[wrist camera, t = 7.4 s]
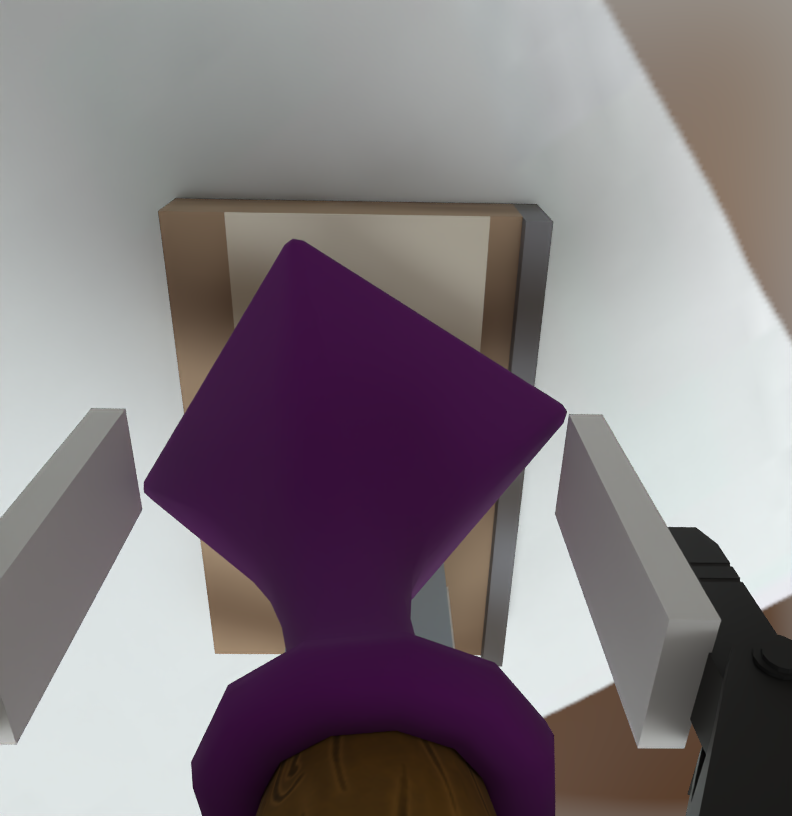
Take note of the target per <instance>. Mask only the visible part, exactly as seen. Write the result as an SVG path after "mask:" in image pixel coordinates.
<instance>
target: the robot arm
mask: <svg viewBox="0 0 792 816" xmlns="http://www.w3.org/2000/svg"><path fill="white" fill-rule="evenodd" d="M141 511H142V505H141V499H140V493H139V487H138V481H137V475H136V469H135V463H134V457H133V451H132V445H131V439H130V433H129V427H128V422H127V416H126V410H125V409H106V408H91V409H90V411H89V412H88V413H87V414H86V415H85V417H84V418H83V419H82V420H81V422H80V423H79V424H78V425H77V426H76V428H75V429H74V430H73V431H72V432H71V434H70V435H69V436H68V437H67V438H66V440H65V441H64V442H63V443H62V444H61V446H60V447H59V448H58V449H57V450H56V452H55V453H54V454H53V455H52V457H51V458H50V459H49V460H48V461H47V463H46V464H45V465H44V466H43V467H42V469H41V470H40V471H39V472H38V473H37V475H36V476H35V477H34V478H33V479H32V481H31V482H30V483H29V484H28V485H27V487H26V488H25V489H24V490H23V492H22V493H21V494H20V495H19V496H18V498H17V499H16V500H15V501H14V502H13V504H12V505H11V506H10V507H9V508H8V510H7V511H6V512H5V513H4V514H3V516H2V517H1V518H0V745H16V744H17V743H18V741H19V739H20V737H21V735H22V733H23V731H24V729H25V728H26V726H27V724H28V722H29V720H30V718H31V716H32V715H33V713H34V711H35V709H36V707H37V705H38V703H39V701H40V700H41V698H42V696H43V694H44V692H45V690H46V688H47V687H48V685H49V683H50V681H51V679H52V677H53V675H54V673H55V672H56V670H57V668H58V666H59V664H60V662H61V660H62V659H63V657H64V655H65V653H66V651H67V649H68V647H69V646H70V644H71V642H72V640H73V638H74V636H75V634H76V632H77V631H78V629H79V627H80V625H81V623H82V621H83V619H84V618H85V616H86V614H87V612H88V610H89V608H90V606H91V604H92V603H93V601H94V599H95V597H96V595H97V593H98V591H99V590H100V588H101V586H102V584H103V582H104V580H105V578H106V576H107V575H108V573H109V571H110V569H111V567H112V565H113V563H114V562H115V560H116V558H117V556H118V554H119V552H120V550H121V548H122V547H123V545H124V543H125V541H126V539H127V537H128V535H129V534H130V532H131V530H132V528H133V526H134V524H135V522H136V520H137V519H138V517H139V515H140V513H141ZM555 515H556V518H557V521H558V524H559V526H560V529H561V532H562V535H563V538H564V541H565V543H566V546H567V549H568V552H569V555H570V558H571V560H572V563H573V566H574V569H575V572H576V575H577V577H578V580H579V583H580V586H581V589H582V591H583V594H584V597H585V600H586V603H587V606H588V608H589V611H590V614H591V617H592V620H593V623H594V625H595V628H596V631H597V634H598V637H599V640H600V642H601V645H602V648H603V651H604V654H605V657H606V659H607V662H608V665H609V668H610V671H611V673H612V676H613V679H614V682H615V685H616V688H617V690H618V693H619V696H620V699H621V702H622V705H623V707H624V710H625V713H626V716H627V718H628V722H629V724H630V727H631V730H632V733H633V736H634V739H635V741H636V744H637V747H638V748H685V744H686V741H687V737H688V734H689V730H690V727H691V723H692V724H693V727H694V729H695V731H696V734H697V736H698V738H699V740H700V742H701V745H702V748H701V751H700V754H699V758H698V761H697V765H696V768H695V771H694V774H693V778H692V781H691V784H690V788H689V791H688V795H690V798H689V803H688V808H687V812H686V816H792V640H790V639H788V638H786V637H784V636H781V635H777V634H776V632H775V630H774V629H773V628H772V626H771V625H770V623H769V621H768V620H767V618H766V617H765V616H764V614H763V612H762V611H761V609H760V608H759V606H758V605H757V603H756V602H755V600H754V599H753V597H752V596H751V594H750V593H749V591H748V590H747V588H746V586H745V585H744V583H743V582H740V577H739V576H738V574H737V573H736V571H735V570H734V568H733V567H730V562H729V561H728V559H727V558H726V556H725V555H724V553H723V552H722V550H721V549H720V547H719V546H718V544H717V543H715V542H714V541H713V540H712V539H710V538H709V537H708V536H706V535H705V534H704V533H703V532H701V531H700V530H699V529H697V528H696V527H667V526H666V524H665V522H664V520H663V519H662V517H661V515H660V513H659V512H658V510H657V508H656V507H655V505H654V503H653V501H652V500H651V498H650V496H649V494H648V493H647V491H646V489H645V488H644V486H643V484H642V482H641V481H640V479H639V477H638V475H637V474H636V472H635V470H634V469H633V467H632V465H631V463H630V462H629V460H628V458H627V456H626V455H625V453H624V451H623V449H622V448H621V446H620V444H619V443H618V441H617V439H616V437H615V436H614V434H613V432H612V430H611V429H610V427H609V425H608V424H607V422H606V420H605V418H604V417H603V415H590V414H569V418H568V425H567V432H566V440H565V447H564V454H563V461H562V468H561V475H560V482H559V490H558V497H557V504H556V511H555Z"/></svg>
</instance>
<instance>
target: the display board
mask: <svg viewBox="0 0 792 816" xmlns="http://www.w3.org/2000/svg"><path fill="white" fill-rule="evenodd" d="M158 214H159V222H160V230H161V238H162V245H163V253H164V261H165V269H166V276H167V284H168V292H169V300H170V307H171V315H172V323H173V331H174V338H175V346H176V354H177V362H178V370H179V377H180V385H181V393H182V401H183V408H184V414H185V412H186V410H187V408H188V407H189V405H190V403H191V402H192V400H193V398H194V397H195V395H196V393H197V392H198V390H199V388H200V387H201V385H202V383H203V382H204V380H205V378H206V376H207V375H208V373H209V371H210V370H211V368H212V366H213V365H214V363H215V361H216V360H217V358H218V356H219V355H220V353H221V351H222V349H223V348H224V346H225V344H226V343H227V341H228V339H229V338H230V336H231V334H232V333H233V331H234V329H235V328H236V326H237V324H238V322H239V321H240V319H241V317H242V316H243V314H244V312H245V311H246V309H247V307H248V306H249V304H250V302H251V301H252V299H253V297H254V295H255V294H256V292H257V290H258V289H259V287H260V285H261V284H262V282H263V280H264V279H265V277H266V275H267V274H268V272H269V270H270V268H271V267H272V265H273V263H274V262H275V260H276V258H277V257H278V255H279V253H280V252H281V250H282V248H283V247H284V245H285V244H286V243H287V242H289V241H290V240H291V239H297V240H303V241H305V242H307V243H308V244H310V245H311V246H313V247H315V248H316V249H318V250H319V251H321V252H322V253H324V254H326V255H327V256H329V257H330V258H332V259H333V260H335V261H337V262H338V263H340V264H341V265H343V266H345V267H346V268H348V269H349V270H351V271H352V272H354V273H356V274H357V275H359V276H360V277H362V278H363V279H365V280H367V281H368V282H370V283H371V284H373V285H375V286H376V287H378V288H379V289H381V290H382V291H384V292H386V293H387V294H389V295H390V296H392V297H393V298H395V299H397V300H398V301H400V302H401V303H403V304H405V305H406V306H408V307H409V308H411V309H412V310H414V311H416V312H417V313H419V314H420V315H422V316H424V317H425V318H427V319H428V320H430V321H431V322H433V323H435V324H436V325H438V326H439V327H441V328H442V329H444V330H446V331H447V332H449V333H450V334H452V335H454V336H455V337H457V338H458V339H460V340H461V341H463V342H465V343H466V344H468V345H469V346H471V347H472V348H474V349H476V350H477V351H479V352H480V353H482V354H484V355H485V356H487V357H488V358H490V359H491V360H493V361H495V362H496V363H498V364H499V365H501V366H502V367H504V368H506V369H507V370H509V371H510V372H512V373H514V374H515V375H517V376H518V377H520V378H521V379H523V380H525V381H526V382H528V383H529V384H531V385H532V386H534V384H535V375H536V367H537V358H538V349H539V341H540V332H541V323H542V315H543V306H544V297H545V288H546V280H547V271H548V262H549V254H550V245H551V236H552V228H553V221H552V220H551V219H550V218H549V217H548V216H547V214H546V213H545V212H544V211H543V210H542V209H541V208H540V207H539V206H538V205H537V204H490V203H429V202H367V201H305V200H244V199H182V198H175V199H174V200H173V201H171V202H170V203H169V204H167V205H166V206H164V207H163V208H162V209H160V210H159V211H158ZM524 471H525V468H524V470H523V471H522V472H521V473H520V474H519V475H518V477H517V478H516V479H515V480H514V481H513V482H512V484H511V485H510V486H509V487H508V488H507V489H506V491H505V492H504V493H503V494H502V495H501V496H500V498H499V499H498V500H497V501H496V502H495V503H494V505H493V506H492V507H491V508H490V509H489V510H488V512H487V513H486V514H485V515H484V516H483V517H482V519H481V520H480V521H479V522H478V523H477V524H476V526H475V527H474V528H473V529H472V530H471V531H470V533H469V534H468V535H467V536H466V537H465V538H464V540H463V541H462V542H461V543H460V544H459V545H458V547H457V548H456V549H455V550H454V551H453V552H452V554H451V555H450V556H449V557H448V558H447V559H446V561H445V562H444V570H445V579H446V587H448V591H449V600H450V609H451V618H452V627H453V636H454V645H455V649H457V650H460V651H463V652H466V653H469V654H472V655H481V658H483V659H486V660H489V661H492V662H495V663H496V664H497V665H498V666H502V662H503V653H504V645H505V636H506V627H507V619H508V610H509V601H510V593H511V584H512V575H513V567H514V558H515V549H516V540H517V532H518V523H519V514H520V506H521V497H522V488H523V480H524ZM200 540H201V539H200ZM201 548H202V556H203V563H204V571H205V579H206V587H207V595H208V602H209V610H210V618H211V626H212V633H213V641H214V649H215V654H283V653H285V642H284V637H283V631H282V627H281V625H280V622H279V620H278V618H277V616H276V613H275V611H274V609H273V607H272V604H271V602H270V601H269V600H268V599H267V597H266V596H265V595H264V594H263V593H262V592H261V590H260V589H259V588H258V587H257V586H256V585H255V583H254V582H253V581H251V580H250V579H249V578H248V577H246V576H245V575H244V574H243V573H241V572H240V571H239V570H238V569H237V568H235V567H234V566H233V565H232V564H230V563H229V562H228V561H227V560H226V559H224V558H223V557H222V556H221V555H219V554H218V553H217V552H216V551H214V550H213V549H212V548H211V547H210V546H208V545H207V544H206V543H205V542H203V541H202V540H201Z"/></svg>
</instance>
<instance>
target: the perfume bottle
mask: <svg viewBox="0 0 792 816" xmlns="http://www.w3.org/2000/svg"><path fill="white" fill-rule="evenodd" d="M566 413H567V411H566V409H565V408H564V406H563V405H562V404H561V403H559V402H558V401H556V400H555V399H553V398H551V397H550V396H548V395H547V394H545V393H544V392H542V391H540V390H539V389H537V388H536V387H534V386H532V385H531V384H529V383H528V382H526V381H525V380H523V379H521V378H520V377H518V376H517V375H515V374H514V373H512V372H510V371H509V370H507V369H506V368H504V367H502V366H501V365H499V364H498V363H496V362H495V361H493V360H491V359H490V358H488V357H487V356H485V355H484V354H482V353H480V352H479V351H477V350H476V349H474V348H472V347H471V346H469V345H468V344H466V343H465V342H463V341H461V340H460V339H458V338H457V337H455V336H454V335H452V334H450V333H449V332H447V331H446V330H444V329H442V328H441V327H439V326H438V325H436V324H435V323H433V322H431V321H430V320H428V319H427V318H425V317H424V316H422V315H420V314H419V313H417V312H416V311H414V310H412V309H411V308H409V307H408V306H406V305H405V304H403V303H401V302H400V301H398V300H397V299H395V298H393V297H392V296H390V295H389V294H387V293H386V292H384V291H382V290H381V289H379V288H378V287H376V286H375V285H373V284H371V283H370V282H368V281H367V280H365V279H363V278H362V277H360V276H359V275H357V274H356V273H354V272H352V271H351V270H349V269H348V268H346V267H345V266H343V265H341V264H340V263H338V262H337V261H335V260H333V259H332V258H330V257H329V256H327V255H326V254H324V253H322V252H321V251H319V250H318V249H316V248H315V247H313V246H311V245H310V244H308V243H307V242H305V241H303V240H297V239H291V240H290V241H289V242H287V243H286V244H285V245H284V247H283V248H282V250H281V252H280V253H279V255H278V257H277V258H276V260H275V262H274V263H273V265H272V267H271V268H270V270H269V272H268V274H267V275H266V277H265V279H264V280H263V282H262V284H261V285H260V287H259V289H258V290H257V292H256V294H255V295H254V297H253V299H252V301H251V302H250V304H249V306H248V307H247V309H246V311H245V312H244V314H243V316H242V317H241V319H240V321H239V322H238V324H237V326H236V328H235V329H234V331H233V333H232V334H231V336H230V338H229V339H228V341H227V343H226V344H225V346H224V348H223V349H222V351H221V353H220V355H219V356H218V358H217V360H216V361H215V363H214V365H213V366H212V368H211V370H210V371H209V373H208V375H207V376H206V378H205V380H204V382H203V383H202V385H201V387H200V388H199V390H198V392H197V393H196V395H195V397H194V398H193V400H192V402H191V403H190V405H189V407H188V408H187V410H186V412H185V414H184V415H183V417H182V419H181V420H180V422H179V424H178V425H177V427H176V429H175V430H174V432H173V434H172V435H171V437H170V439H169V441H168V442H167V444H166V446H165V447H164V449H163V451H162V452H161V454H160V456H159V457H158V459H157V461H156V462H155V464H154V466H153V468H152V469H151V471H150V473H149V474H148V476H147V478H146V479H145V481H144V493H145V494H146V495H147V496H149V497H150V498H151V499H152V500H153V501H154V502H155V503H157V504H158V505H159V506H160V507H162V508H163V509H164V510H165V511H167V512H168V513H169V514H170V515H171V516H173V517H174V518H175V519H176V520H178V521H179V522H180V523H181V524H183V525H184V526H185V527H186V528H187V529H189V530H190V531H191V532H192V533H194V534H195V535H196V536H197V537H198V538H200V539H201V540H202V541H203V542H205V543H206V544H207V545H208V546H210V547H211V548H212V549H213V550H214V551H216V552H217V553H218V554H219V555H221V556H222V557H223V558H224V559H226V560H227V561H228V562H229V563H230V564H232V565H233V566H234V567H235V568H237V569H238V570H239V571H240V572H241V573H243V574H244V575H245V576H246V577H248V578H249V579H250V580H251V581H253V582H254V583H255V585H256V586H257V587H258V588H259V589H260V590H261V592H262V593H263V594H264V595H265V596H266V597H267V599H268V600H269V601H270V602H271V604H272V607H273V609H274V611H275V613H276V616H277V618H278V620H279V622H280V625H281V627H282V631H283V637H284V642H285V647H286V652H285V653H283V654H281V655H280V656H278V657H276V658H274V659H273V660H271V661H269V662H267V663H266V664H264V665H262V666H260V667H259V668H257V669H255V670H253V671H252V672H250V673H248V674H246V675H245V676H243V677H241V678H240V679H238V680H236V681H234V682H233V683H231V684H229V685H228V686H227V689H226V691H225V693H224V695H223V697H222V699H221V701H220V703H219V705H218V707H217V709H216V711H215V713H214V716H213V718H212V720H211V722H210V724H209V726H208V728H207V730H206V732H205V734H204V736H203V738H202V741H201V743H200V745H199V747H198V749H197V751H196V753H195V755H194V757H193V759H192V761H191V767H192V782H193V790H194V793H195V796H196V798H197V801H198V804H199V807H200V810H201V813H202V816H555V763H554V735H553V733H552V731H551V729H550V728H549V726H548V724H547V723H546V721H545V720H544V719H543V717H542V716H541V715H540V714H539V713H538V712H537V710H536V709H535V708H534V707H533V706H532V705H531V703H530V702H529V701H528V700H527V699H526V698H525V697H524V695H523V694H522V693H521V692H520V691H519V690H518V688H517V687H516V686H515V685H514V684H513V683H512V682H511V680H510V679H509V678H508V677H507V676H506V675H505V673H504V672H503V671H502V670H501V669H500V668H499V667H498V665H497V664H496V663H495V662H492V661H489V660H486V659H483V658H480V657H477V656H474V655H472V654H469V653H466V652H463V651H460V650H457V649H454V648H451V647H448V646H445V645H442V644H440V643H437V642H434V641H431V640H428V639H425V638H422V637H419V636H416V635H415V633H414V629H413V626H412V622H411V600H412V599H413V598H414V597H415V596H416V594H417V593H418V592H419V591H420V590H421V589H422V587H423V586H424V585H425V584H426V583H427V582H428V580H429V579H430V578H431V577H432V576H433V575H434V573H435V572H436V571H437V570H438V569H439V568H440V566H441V565H442V564H443V563H444V562H445V561H446V559H447V558H448V557H449V556H450V555H451V554H452V552H453V551H454V550H455V549H456V548H457V547H458V545H459V544H460V543H461V542H462V541H463V540H464V538H465V537H466V536H467V535H468V534H469V533H470V531H471V530H472V529H473V528H474V527H475V526H476V524H477V523H478V522H479V521H480V520H481V519H482V517H483V516H484V515H485V514H486V513H487V512H488V510H489V509H490V508H491V507H492V506H493V505H494V503H495V502H496V501H497V500H498V499H499V498H500V496H501V495H502V494H503V493H504V492H505V491H506V489H507V488H508V487H509V486H510V485H511V484H512V482H513V481H514V480H515V479H516V478H517V477H518V475H519V474H520V473H521V472H522V471H523V470H524V468H525V467H526V466H527V465H528V464H529V463H530V461H531V460H532V459H533V458H534V457H535V456H536V454H537V453H538V452H539V451H540V450H541V449H542V447H543V446H544V445H545V444H546V443H547V442H548V440H549V439H550V438H551V437H552V436H553V435H554V433H555V432H556V431H557V430H558V429H559V428H560V426H561V425H562V424H563V423H564V420H565V417H566Z"/></svg>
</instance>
